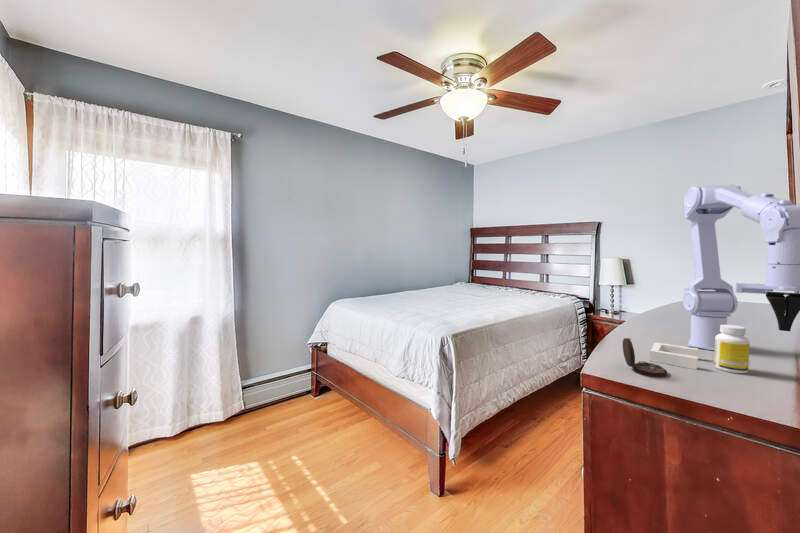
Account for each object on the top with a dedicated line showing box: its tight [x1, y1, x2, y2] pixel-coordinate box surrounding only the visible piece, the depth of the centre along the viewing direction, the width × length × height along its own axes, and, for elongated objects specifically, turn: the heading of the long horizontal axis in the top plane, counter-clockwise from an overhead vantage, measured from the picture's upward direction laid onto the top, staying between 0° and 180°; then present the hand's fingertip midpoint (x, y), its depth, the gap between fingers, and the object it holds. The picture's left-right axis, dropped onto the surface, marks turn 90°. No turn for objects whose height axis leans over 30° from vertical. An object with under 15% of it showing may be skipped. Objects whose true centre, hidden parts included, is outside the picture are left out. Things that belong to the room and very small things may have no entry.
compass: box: [622, 337, 668, 378], centre depth 74 cm, size 8×8×7 cm
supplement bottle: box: [713, 324, 750, 374], centre depth 73 cm, size 5×5×10 cm
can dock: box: [649, 342, 700, 370], centre depth 80 cm, size 10×8×2 cm
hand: (784, 330), depth 68 cm, fingers closed
